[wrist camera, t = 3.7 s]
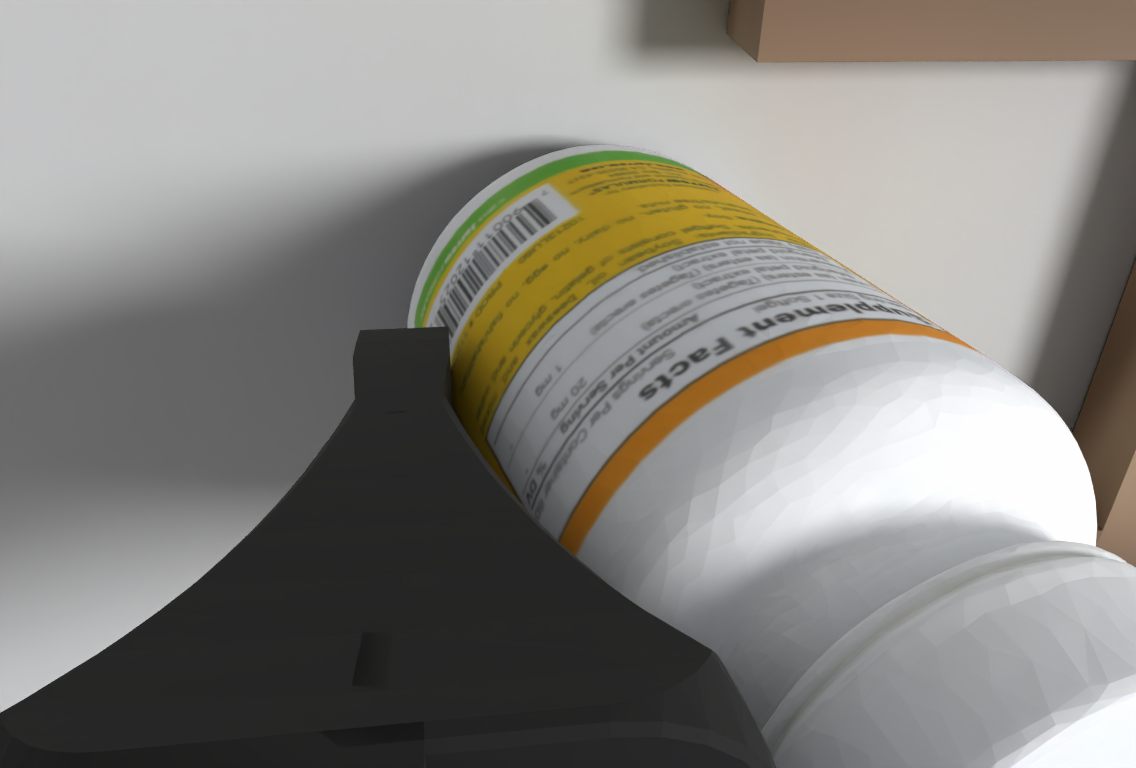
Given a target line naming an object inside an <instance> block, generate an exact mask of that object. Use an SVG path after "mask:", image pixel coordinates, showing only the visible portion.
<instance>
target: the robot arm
mask: <svg viewBox="0 0 1136 768" xmlns="http://www.w3.org/2000/svg"><path fill="white" fill-rule="evenodd" d="M353 369H354V388H355V400H354V402H353V404H352V405H351V407H350V408H349V410H348V412H347V413H346V415H345V416H344V418H343V419H342V421H341V423H340V424H339V426H338V427H337V429H336V430H335V432H334V433H333V434H332V436H331V437H330V439H329V440H328V441H327V443H326V444H325V445H324V447H323V448H322V449H321V451H320V452H319V453H318V455H317V456H316V457H315V459H314V460H313V461H312V463H311V464H310V465H309V467H308V468H307V469H306V471H305V472H304V473H303V474H302V476H301V477H300V478H299V479H298V481H297V482H296V483H295V484H294V485H293V486H292V488H291V489H290V490H289V491H288V492H287V494H286V495H285V496H284V497H283V498H282V499H281V500H280V502H279V503H278V504H277V505H276V506H275V507H274V508H273V509H272V510H271V511H270V512H269V513H268V515H267V516H266V517H265V518H264V519H263V520H262V521H261V522H260V523H259V524H258V525H257V526H256V527H255V528H254V529H253V530H252V531H251V532H250V533H249V534H248V535H247V536H246V537H245V538H244V539H243V540H242V541H241V542H240V543H239V544H238V545H237V546H236V547H234V548H233V549H232V550H231V551H230V552H229V553H228V554H227V555H226V556H225V557H224V558H223V559H222V560H221V561H220V562H218V563H217V564H216V565H215V566H214V567H213V568H212V569H210V570H209V571H208V572H207V573H206V574H205V575H204V576H203V577H201V578H200V579H199V580H198V581H197V582H196V583H194V584H193V585H192V586H191V587H189V588H188V589H187V590H186V591H184V592H183V593H182V594H180V595H179V596H178V597H177V598H175V599H174V600H173V601H171V602H170V603H169V604H168V605H166V606H165V607H164V608H162V609H161V610H160V611H158V612H157V613H156V614H154V615H153V616H152V617H150V618H149V619H147V620H146V621H145V622H143V623H142V624H140V625H139V626H138V627H136V628H135V629H133V630H132V631H131V632H129V633H128V634H126V635H125V636H124V637H122V638H121V639H119V640H118V641H116V642H115V643H113V644H112V645H110V646H109V647H107V648H106V649H104V650H103V651H101V652H100V653H98V654H97V655H95V656H94V657H92V658H90V659H89V660H87V661H85V662H84V663H82V664H81V665H79V666H77V667H76V668H74V669H72V670H71V671H69V672H68V673H66V674H64V675H63V676H61V677H59V678H58V679H56V680H55V681H53V682H51V683H50V684H48V685H46V686H45V687H43V688H42V689H40V690H38V691H37V692H35V693H33V694H32V695H30V696H29V697H27V698H25V699H24V700H22V701H20V702H19V703H17V704H15V705H13V706H12V707H10V708H8V709H6V710H5V711H3V712H1V713H0V768H776V766H775V763H774V760H773V758H772V755H771V753H770V750H769V748H768V746H767V744H766V742H765V740H764V738H763V736H762V734H761V732H760V729H759V727H758V725H757V723H756V721H755V719H754V717H753V715H752V714H751V712H750V710H749V708H748V706H747V704H746V702H745V700H744V698H743V696H742V695H741V693H740V691H739V689H738V688H737V686H736V684H735V683H734V681H733V679H732V678H731V676H730V674H729V672H728V671H727V669H726V667H725V666H724V664H723V663H722V661H721V659H720V658H719V656H718V655H717V654H716V653H715V652H714V651H713V650H711V649H710V648H708V647H706V646H704V645H703V644H701V643H699V642H698V641H696V640H694V639H693V638H691V637H689V636H688V635H686V634H684V633H683V632H681V631H679V630H678V629H676V628H674V627H672V626H671V625H669V624H667V623H666V622H664V621H662V620H661V619H659V618H657V617H656V616H654V615H652V614H651V613H649V612H647V611H645V610H644V609H642V608H641V607H639V606H638V605H636V604H635V603H633V602H632V601H631V600H629V599H628V598H626V597H625V596H624V595H622V594H621V593H620V592H618V591H617V590H615V589H614V588H613V587H611V586H610V585H609V584H607V583H606V582H605V581H604V580H603V579H602V578H600V577H599V576H598V575H597V574H596V573H595V572H593V571H592V570H591V569H590V568H589V567H587V566H586V565H585V564H584V563H583V562H582V561H580V560H579V559H578V558H577V557H576V556H575V555H573V554H572V553H571V552H570V551H569V550H567V549H566V548H565V547H564V546H563V545H562V544H560V543H559V542H558V541H557V540H556V539H555V538H554V537H553V536H552V535H551V534H550V533H549V532H548V531H547V530H546V529H545V528H544V527H543V526H542V525H541V524H540V523H539V522H538V521H537V520H536V519H535V518H534V517H533V516H532V515H531V514H530V513H529V512H528V511H527V509H526V508H525V507H524V506H523V505H522V504H521V503H520V502H519V500H518V499H517V498H516V497H515V496H514V495H513V494H512V493H511V491H510V490H509V489H508V488H507V487H506V485H505V484H504V483H503V482H502V481H501V479H500V478H499V477H498V476H497V474H496V473H495V472H494V470H493V469H492V468H491V467H490V465H489V464H488V462H487V461H486V460H485V458H484V457H483V455H482V454H481V453H480V451H479V450H478V448H477V447H476V446H475V444H474V443H473V441H472V440H471V438H470V437H469V435H468V434H467V432H466V431H465V429H464V428H463V426H462V424H461V422H460V421H459V419H458V417H457V416H456V414H455V412H454V410H453V400H452V382H451V363H450V346H449V328H448V326H444V327H423V328H402V329H381V330H360V333H359V336H358V339H357V342H356V347H355V351H354V355H353Z"/></svg>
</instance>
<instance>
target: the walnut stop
mask: <svg viewBox="0 0 1136 768" xmlns="http://www.w3.org/2000/svg"><path fill="white" fill-rule="evenodd" d="M726 33H727V34H728V35H729V36H730V37H731V38H732V39H733V40H734V41H735V42H736V43H737V44H738V45H739V46H741V47H742V48H743V49H744V50H745V51H746V52H747V53H748V54H749V55H750V56H751V57H752V58H753V59H754V60H755V61H756V62H891V61H1060V60H1136V0H730V4H729V13H728V22H727V32H726ZM1072 435H1073V437H1074V438H1075V440H1076V442H1077V443H1078V446H1079V448H1080V450H1081V452H1082V455H1083V457H1084V459H1085V461H1086V464H1087V467H1088V470H1089V473H1090V476H1091V481H1092V485H1093V490H1094V495H1095V500H1096V516H1097V534H1096V547H1098V548H1101V549H1103V550H1106V551H1108V552H1110V553H1113V554H1115V555H1117V556H1118V557H1120V558H1121V559H1123V560H1125V561H1126V562H1127V563H1128V564H1130V565H1132V566H1134V567H1136V261H1135V264H1134V266H1133V269H1132V272H1131V275H1130V277H1129V280H1128V283H1127V286H1126V288H1125V291H1124V294H1123V297H1122V299H1121V302H1120V305H1119V308H1118V310H1117V313H1116V316H1115V319H1114V321H1113V324H1112V327H1111V330H1110V332H1109V335H1108V338H1107V341H1106V343H1105V346H1104V349H1103V352H1102V354H1101V357H1100V360H1099V363H1098V365H1097V368H1096V371H1095V374H1094V376H1093V379H1092V382H1091V384H1090V387H1089V390H1088V393H1087V395H1086V398H1085V401H1084V404H1083V406H1082V409H1081V412H1080V415H1079V417H1078V420H1077V423H1076V426H1075V428H1074V431H1073V434H1072Z"/></svg>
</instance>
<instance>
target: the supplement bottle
mask: <svg viewBox="0 0 1136 768" xmlns="http://www.w3.org/2000/svg"><path fill="white" fill-rule="evenodd" d="M444 326H448V328H449V346H450V363H451V382H452V400H453V410H454V412H455V414H456V416H457V417H458V419H459V421H460V422H461V424H462V426H463V428H464V429H465V431H466V432H467V434H468V435H469V437H470V438H471V440H472V441H473V443H474V444H475V446H476V447H477V448H478V450H479V451H480V453H481V454H482V455H483V457H484V458H485V460H486V461H487V462H488V464H489V465H490V467H491V468H492V469H493V470H494V472H495V473H496V474H497V476H498V477H499V478H500V479H501V481H502V482H503V483H504V484H505V485H506V487H507V488H508V489H509V490H510V491H511V493H512V494H513V495H514V496H515V497H516V498H517V499H518V500H519V502H520V503H521V504H522V505H523V506H524V507H525V508H526V509H527V511H528V512H529V513H530V514H531V515H532V516H533V517H534V518H535V519H536V520H537V521H538V522H539V523H540V524H541V525H542V526H543V527H544V528H545V529H546V530H547V531H548V532H549V533H550V534H551V535H552V536H553V537H554V538H555V539H556V540H557V541H558V542H559V543H560V544H562V545H563V546H564V547H565V548H566V549H567V550H569V551H570V552H571V553H572V554H573V555H575V556H576V557H577V558H578V559H579V560H580V561H582V562H583V563H584V564H585V565H586V566H587V567H589V568H590V569H591V570H592V571H593V572H595V573H596V574H597V575H598V576H599V577H600V578H602V579H603V580H604V581H605V582H606V583H607V584H609V585H610V586H611V587H613V588H614V589H615V590H617V591H618V592H620V593H621V594H622V595H624V596H625V597H626V598H628V599H629V600H631V601H632V602H633V603H635V604H636V605H638V606H639V607H641V608H642V609H644V610H645V611H647V612H649V613H651V614H652V615H654V616H656V617H657V618H659V619H661V620H662V621H664V622H666V623H667V624H669V625H671V626H672V627H674V628H676V629H678V630H679V631H681V632H683V633H684V634H686V635H688V636H689V637H691V638H693V639H694V640H696V641H698V642H699V643H701V644H703V645H704V646H706V647H708V648H710V649H711V650H713V651H714V652H715V653H716V654H717V655H718V656H719V658H720V659H721V661H722V663H723V664H724V666H725V667H726V669H727V671H728V672H729V674H730V676H731V678H732V679H733V681H734V683H735V684H736V686H737V688H738V689H739V691H740V693H741V695H742V696H743V698H744V700H745V702H746V704H747V706H748V708H749V710H750V712H751V714H752V715H753V717H754V719H755V721H756V723H757V725H758V727H759V729H760V732H761V734H762V736H763V738H764V740H765V742H766V744H767V746H768V748H769V750H770V753H771V755H772V758H773V760H774V763H775V766H776V768H1136V567H1134V566H1132V565H1130V564H1128V563H1127V562H1126V561H1125V560H1123V559H1121V558H1120V557H1118V556H1117V555H1115V554H1113V553H1110V552H1108V551H1106V550H1103V549H1101V548H1098V547H1096V534H1097V516H1096V500H1095V495H1094V490H1093V485H1092V481H1091V476H1090V473H1089V470H1088V467H1087V464H1086V461H1085V459H1084V457H1083V455H1082V452H1081V450H1080V448H1079V446H1078V443H1077V442H1076V440H1075V438H1074V437H1073V435H1072V433H1071V432H1070V430H1069V428H1068V427H1067V425H1066V424H1065V423H1064V421H1063V420H1062V418H1061V417H1060V416H1059V414H1058V413H1057V412H1056V411H1055V410H1054V409H1053V408H1052V407H1051V406H1050V405H1049V404H1048V403H1047V402H1046V401H1045V400H1044V399H1043V398H1042V397H1041V396H1040V395H1039V394H1038V393H1037V392H1036V391H1035V390H1033V389H1032V388H1031V387H1029V386H1028V385H1026V384H1025V383H1024V382H1022V381H1021V380H1019V379H1018V378H1017V377H1015V376H1014V375H1012V374H1011V373H1010V372H1008V371H1007V370H1005V369H1004V368H1002V367H1001V366H999V365H998V364H997V363H995V362H994V361H992V360H991V359H989V358H988V357H986V356H985V355H983V354H981V353H980V352H978V351H977V350H975V349H974V348H972V347H971V346H969V345H968V344H966V343H965V342H963V341H961V340H960V339H958V338H957V337H955V336H953V335H952V334H950V333H949V332H947V331H946V330H944V329H942V328H941V327H939V326H938V325H936V324H934V323H933V322H931V321H930V320H928V319H926V318H925V317H923V316H922V315H920V314H919V313H917V312H915V311H914V310H912V309H911V308H909V307H907V306H906V305H904V304H903V303H901V302H899V301H898V300H896V299H895V298H893V297H892V296H890V295H889V294H887V293H886V292H884V291H882V290H881V289H879V288H878V287H876V286H875V285H873V284H872V283H870V282H869V281H867V280H866V279H864V278H862V277H861V276H859V275H858V274H856V273H855V272H853V271H852V270H850V269H849V268H847V267H845V266H844V265H842V264H841V263H839V262H838V261H836V260H835V259H833V258H832V257H830V256H828V255H827V254H825V253H824V252H822V251H821V250H819V249H818V248H816V247H814V246H813V245H811V244H810V243H808V242H806V241H805V240H803V239H802V238H800V237H799V236H797V235H795V234H794V233H792V232H791V231H789V230H787V229H786V228H784V227H783V226H781V225H780V224H778V223H777V222H775V221H774V220H772V219H771V218H769V217H768V216H766V215H764V214H763V213H761V212H760V211H758V210H757V209H755V208H754V207H752V206H751V205H749V204H748V203H746V202H745V201H743V200H742V199H740V198H739V197H737V196H735V195H734V194H732V193H731V192H729V191H728V190H726V189H725V188H723V187H722V186H720V185H718V184H717V183H715V182H714V181H712V180H711V179H709V178H708V177H706V176H704V175H702V174H700V173H699V172H697V171H695V170H693V169H692V168H690V167H688V166H686V165H684V164H682V163H680V162H678V161H676V160H674V159H672V158H669V157H667V156H665V155H662V154H659V153H656V152H653V151H649V150H645V149H640V148H636V147H629V146H620V145H587V146H578V147H572V148H567V149H563V150H559V151H555V152H551V153H549V154H546V155H543V156H540V157H538V158H535V159H533V160H531V161H528V162H526V163H524V164H522V165H520V166H518V167H516V168H514V169H513V170H511V171H509V172H508V173H506V174H504V175H503V176H501V177H500V178H498V179H497V180H495V181H494V182H492V183H491V184H490V185H488V186H487V187H486V188H484V189H483V190H482V191H481V192H479V193H478V194H477V195H475V196H474V197H473V198H472V199H471V200H470V201H469V202H468V203H467V204H466V205H465V206H464V207H463V208H462V209H461V210H460V211H459V212H458V213H457V214H456V215H455V216H454V217H453V219H452V220H451V221H450V223H449V224H448V225H447V227H446V228H445V229H444V231H443V232H442V233H441V235H440V236H439V238H438V239H437V241H436V242H435V244H434V246H433V248H432V249H431V251H430V253H429V255H428V257H427V259H426V260H425V262H424V264H423V267H422V269H421V272H420V274H419V276H418V279H417V281H416V285H415V288H414V292H413V295H412V299H411V304H410V309H409V315H408V323H407V328H423V327H444Z"/></svg>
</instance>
